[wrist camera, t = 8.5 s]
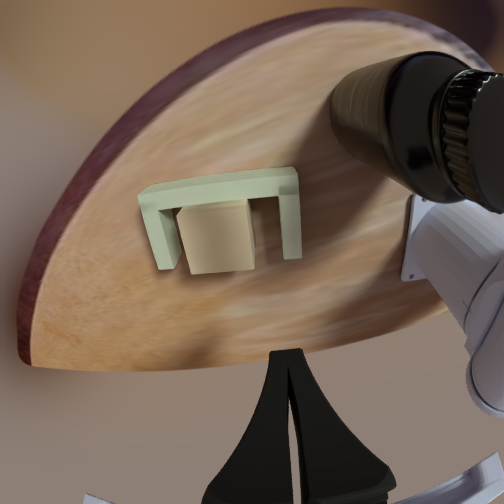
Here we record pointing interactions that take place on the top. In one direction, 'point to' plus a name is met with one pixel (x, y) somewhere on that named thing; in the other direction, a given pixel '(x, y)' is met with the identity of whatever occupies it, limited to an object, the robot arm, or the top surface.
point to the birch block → (218, 236)
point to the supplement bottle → (427, 126)
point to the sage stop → (218, 190)
